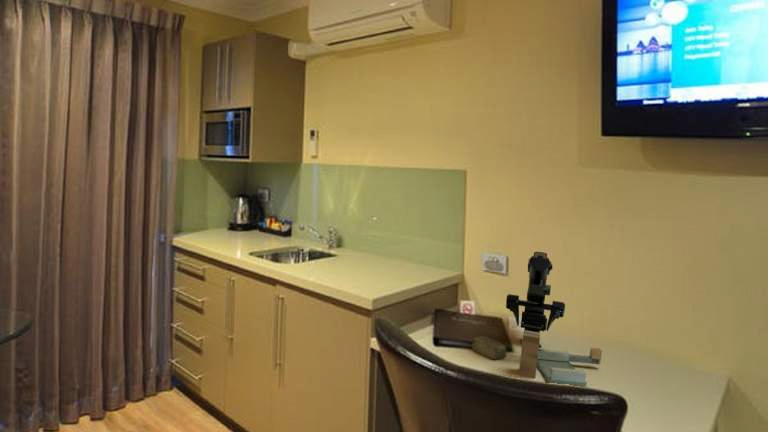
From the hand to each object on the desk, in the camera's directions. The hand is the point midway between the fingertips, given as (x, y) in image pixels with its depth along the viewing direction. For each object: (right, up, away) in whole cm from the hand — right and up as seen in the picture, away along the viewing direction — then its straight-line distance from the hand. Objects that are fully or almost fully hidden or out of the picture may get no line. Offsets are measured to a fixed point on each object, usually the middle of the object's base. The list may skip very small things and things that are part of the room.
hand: (532, 327), depth 161 cm
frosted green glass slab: (+7, -14, -2) cm, 16 cm away
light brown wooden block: (+13, -12, +4) cm, 18 cm away
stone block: (-13, -11, +9) cm, 19 cm away
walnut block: (-3, -13, -5) cm, 15 cm away
